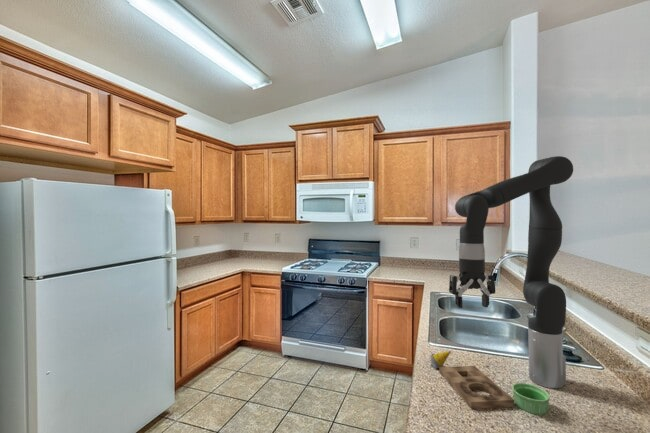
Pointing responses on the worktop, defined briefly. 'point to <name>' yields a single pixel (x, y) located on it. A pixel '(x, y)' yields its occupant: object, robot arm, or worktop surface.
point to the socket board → (475, 387)
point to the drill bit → (439, 359)
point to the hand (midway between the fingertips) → (472, 307)
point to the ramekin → (531, 398)
